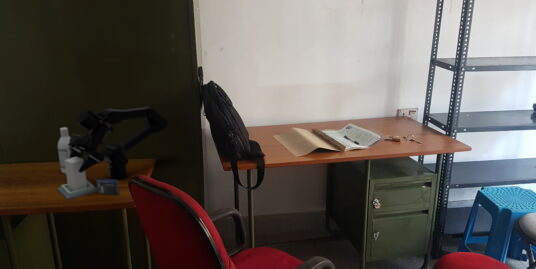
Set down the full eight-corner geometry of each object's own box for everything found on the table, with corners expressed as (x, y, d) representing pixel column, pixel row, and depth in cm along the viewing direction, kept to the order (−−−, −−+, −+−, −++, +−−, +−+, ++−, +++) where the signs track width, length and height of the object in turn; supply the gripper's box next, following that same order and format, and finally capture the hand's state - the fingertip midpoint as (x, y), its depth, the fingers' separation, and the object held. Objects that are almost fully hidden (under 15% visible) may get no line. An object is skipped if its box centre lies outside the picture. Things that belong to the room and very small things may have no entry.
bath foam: (74, 166, 197) (69, 124, 191) (80, 171, 192) (75, 128, 186) (59, 170, 192) (52, 127, 186) (64, 175, 188) (58, 131, 181)
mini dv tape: (97, 193, 171) (96, 179, 169) (100, 192, 172) (98, 178, 170) (117, 195, 170) (115, 181, 168) (119, 193, 171) (117, 180, 169)
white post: (79, 185, 176) (75, 156, 172) (87, 188, 174) (83, 159, 170) (68, 189, 172) (64, 160, 168) (76, 192, 170) (71, 163, 166)
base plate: (87, 181, 181) (87, 177, 181) (98, 191, 173) (98, 186, 172) (57, 189, 174) (57, 185, 173) (67, 200, 165) (66, 195, 165)
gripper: (69, 121, 174) (45, 154, 169) (93, 130, 163) (69, 165, 158) (90, 135, 182) (68, 166, 178) (114, 145, 171) (91, 179, 166)
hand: (73, 169), depth 170 cm, fingers open, 9 cm apart
